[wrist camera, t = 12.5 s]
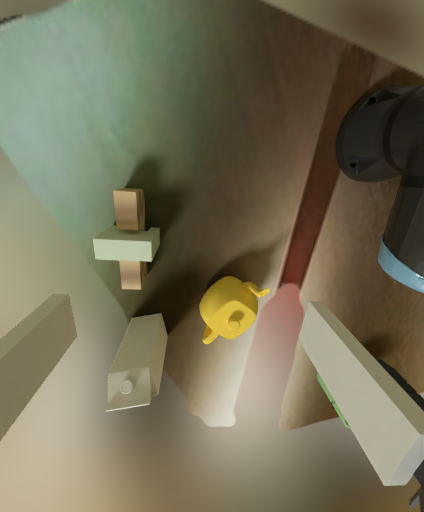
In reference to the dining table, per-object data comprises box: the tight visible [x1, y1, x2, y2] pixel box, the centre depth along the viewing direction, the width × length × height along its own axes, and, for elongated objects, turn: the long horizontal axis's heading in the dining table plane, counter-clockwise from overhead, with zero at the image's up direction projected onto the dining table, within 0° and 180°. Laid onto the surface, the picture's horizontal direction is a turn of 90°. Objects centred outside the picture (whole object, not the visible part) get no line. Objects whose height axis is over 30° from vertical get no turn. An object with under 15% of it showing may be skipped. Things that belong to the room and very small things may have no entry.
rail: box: [113, 188, 147, 289], centre depth 40 cm, size 18×4×6 cm, turn 175°
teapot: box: [199, 276, 270, 344], centre depth 45 cm, size 18×11×11 cm, turn 139°
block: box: [93, 225, 160, 262], centre depth 39 cm, size 4×9×9 cm, turn 86°
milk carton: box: [106, 313, 168, 412], centre depth 43 cm, size 7×7×19 cm
